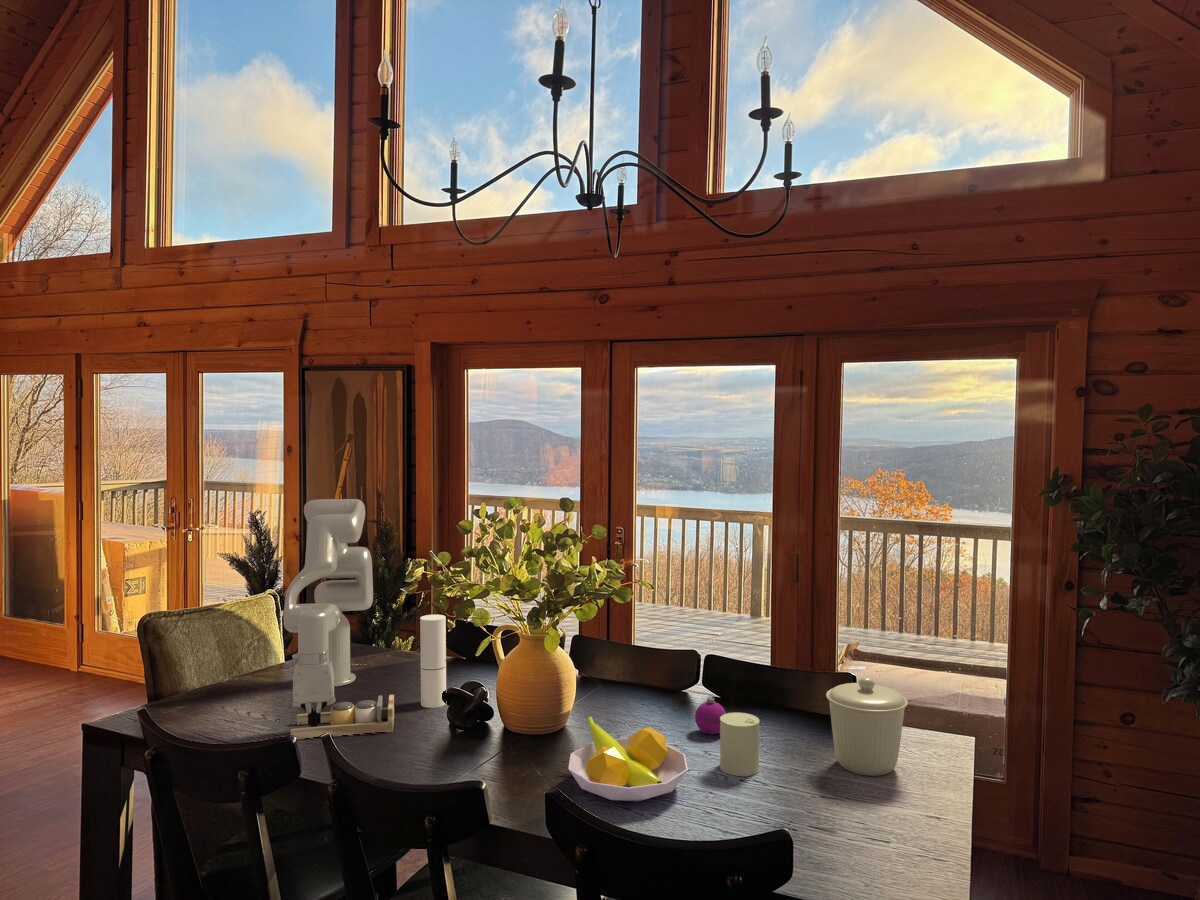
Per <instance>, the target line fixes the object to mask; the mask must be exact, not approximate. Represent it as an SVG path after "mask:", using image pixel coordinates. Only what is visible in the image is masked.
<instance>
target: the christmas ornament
mask: <svg viewBox="0 0 1200 900" xmlns="http://www.w3.org/2000/svg"><path fill="white" fill-rule="evenodd" d="M706 699H707V700H706V702H702V703H701V704H700V705H699V706H698V707H697V709H696V711H695V715H694V720H695V721H694V722H695V723H696V725H697V727H698V729H699V730H700V731H701V732H702V733H704V734H708V735H716V734H720V717H721V716H722V715H724V714H727V711H726V710H725V708H724V707H723V706H722V705H721V704H720V703H719V702H716V701H715V698H714V695H712V694H710V695H708V698H706Z"/></svg>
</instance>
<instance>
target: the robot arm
mask: <svg viewBox="0 0 1200 900" xmlns="http://www.w3.org/2000/svg"><path fill="white" fill-rule="evenodd" d="M303 513H304V518H305V520H306V522H307V523H308V524H307V532H306V533H307V534H306V544H305V545H306V547H305V558H304V559H305V560H304V561H305V562H304V566H303V569H301V571H300V572H299V573H298V574H296V576H295V577H294V578H293V579H292V581H291V582H290V584H289V586H288V587H287V590H286V593H285V597H284V607H283V608H284V609H283V625H284V628H285V630H286V631H287V632H289V633H297V644H298V645H297V646H298V647H297V648H298V651H297V652H296V653H295V654H292V655H291V656H292V660H296V661H297V662H296V664H294V669H293V678H292V704H291V705H292V706H293V707H297V708H302V710H304V711H305V712H306V714H307V713H308V724H307V725H310V727H319V726H318V725H320V724H321V723H320V722H321V712H322V710H324V708H325V707H327V706H328V705H333V704H336V697H335V687H341V686H345V685H349V684H352V683H353V682H354V681H356V677H357V676H356V674H355V673H353V672H351V626H350V621H349V620H348V618H347V617H346V616H345V615H344V614H343V612H350V611H365V610H368V609H370V608H371V606H372V605H373V600H374V583H373V582H374V581H373V580H374V579H373V577H374V576H373V560H372V555H371V552H370V550H369V549H368V548H367V547H365V546H364V547H363V546H348V545H347V544H355V543H357V542H359V540H360V538H361V536H362V533H363V528H364V523H365V519H366V505H365V504H364V502H363V501H362V500H361V499H358V498H341V499H340V498H339V499H335V498H328V499H327V498H325V499H323V498H322V499H313V500H309V501H307V502H306V503H305V504H304V507H303ZM322 578H324V579H333V580H326V581H323V582H320V583H318V584H317V586H316V587H315V589H314V602H315V603H299V604H298V603H297V602H298V597H299V595H300V593H301V592H302V590H303V589H304V588H306V587H307V586H309V585H310V584H312V583H314V582H316V581H318V580H320V579H322ZM350 578H351V579H350ZM352 578H353V579H352ZM334 579H335V580H334ZM336 579H337V580H336ZM339 579H340V580H339ZM313 704H316V708H315V710H314V708H313Z"/></svg>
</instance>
